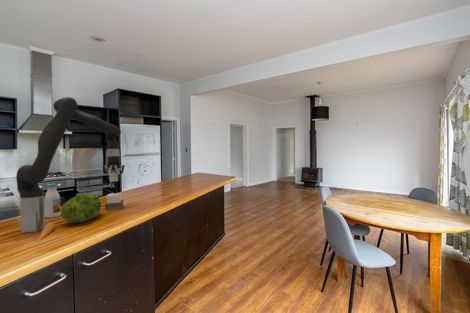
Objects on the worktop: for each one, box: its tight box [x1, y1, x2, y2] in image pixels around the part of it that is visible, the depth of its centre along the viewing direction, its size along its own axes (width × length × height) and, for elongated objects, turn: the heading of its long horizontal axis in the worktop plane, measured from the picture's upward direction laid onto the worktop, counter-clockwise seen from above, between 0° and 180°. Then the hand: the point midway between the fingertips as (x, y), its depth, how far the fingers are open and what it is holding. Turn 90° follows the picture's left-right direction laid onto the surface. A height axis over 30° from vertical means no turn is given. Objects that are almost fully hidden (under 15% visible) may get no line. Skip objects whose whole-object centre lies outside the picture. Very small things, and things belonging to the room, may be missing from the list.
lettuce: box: [61, 193, 103, 224], centre depth 138 cm, size 15×27×16 cm, turn 0°
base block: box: [104, 199, 124, 212], centre depth 164 cm, size 10×10×5 cm
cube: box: [108, 172, 119, 182], centre depth 164 cm, size 5×5×5 cm
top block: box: [106, 192, 123, 203], centre depth 164 cm, size 8×8×5 cm
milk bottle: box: [44, 183, 62, 219], centre depth 145 cm, size 8×8×20 cm
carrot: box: [37, 221, 56, 243], centre depth 114 cm, size 20×4×4 cm, turn 23°
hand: (114, 179), depth 164 cm, fingers closed on cube, 5 cm apart
